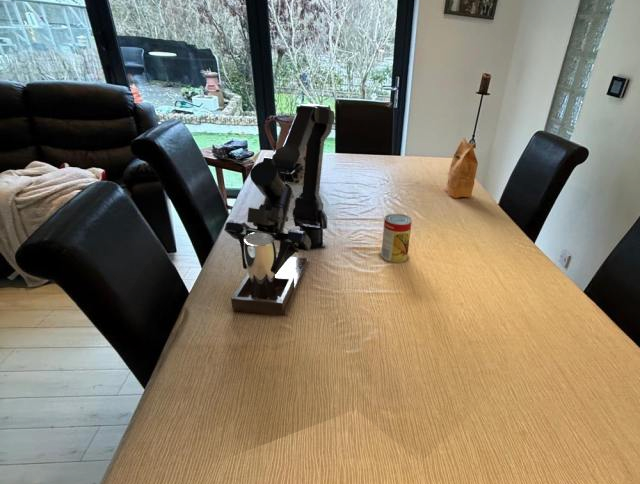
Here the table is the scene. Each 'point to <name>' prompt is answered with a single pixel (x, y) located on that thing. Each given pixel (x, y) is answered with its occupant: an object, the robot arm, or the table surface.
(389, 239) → the canned food
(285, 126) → the ceramic pitcher
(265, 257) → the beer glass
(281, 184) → the robot arm
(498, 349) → the table surface
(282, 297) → the dark rectangular tray
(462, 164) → the coffee package
